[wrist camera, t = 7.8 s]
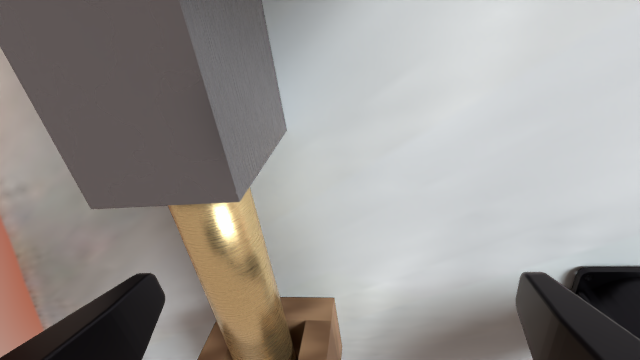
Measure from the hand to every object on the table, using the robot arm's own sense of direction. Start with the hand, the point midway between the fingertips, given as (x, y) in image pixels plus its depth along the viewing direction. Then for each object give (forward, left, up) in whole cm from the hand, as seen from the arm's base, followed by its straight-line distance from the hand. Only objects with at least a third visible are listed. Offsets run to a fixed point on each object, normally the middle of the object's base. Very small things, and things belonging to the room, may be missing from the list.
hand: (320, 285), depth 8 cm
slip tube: (+7, +7, -10) cm, 14 cm away
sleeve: (+7, -5, -12) cm, 15 cm away
